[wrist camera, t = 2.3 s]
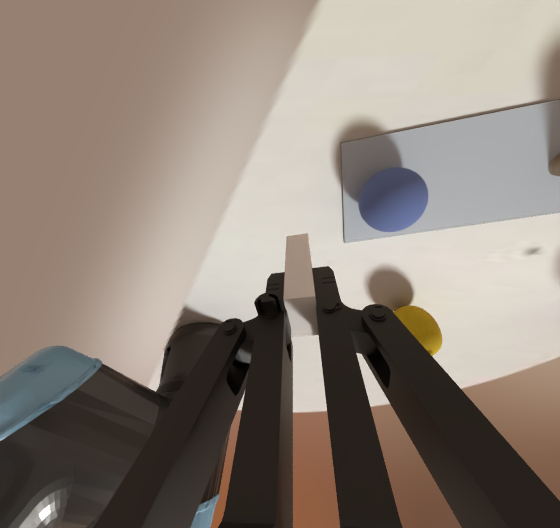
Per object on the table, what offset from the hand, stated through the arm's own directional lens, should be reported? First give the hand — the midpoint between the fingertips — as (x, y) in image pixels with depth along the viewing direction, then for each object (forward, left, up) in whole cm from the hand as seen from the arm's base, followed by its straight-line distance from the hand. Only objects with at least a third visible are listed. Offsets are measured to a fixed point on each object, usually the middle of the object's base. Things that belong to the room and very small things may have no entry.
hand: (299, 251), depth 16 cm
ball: (+9, 0, -8) cm, 12 cm away
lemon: (+13, -18, -11) cm, 25 cm away
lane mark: (+20, 0, -11) cm, 22 cm away
